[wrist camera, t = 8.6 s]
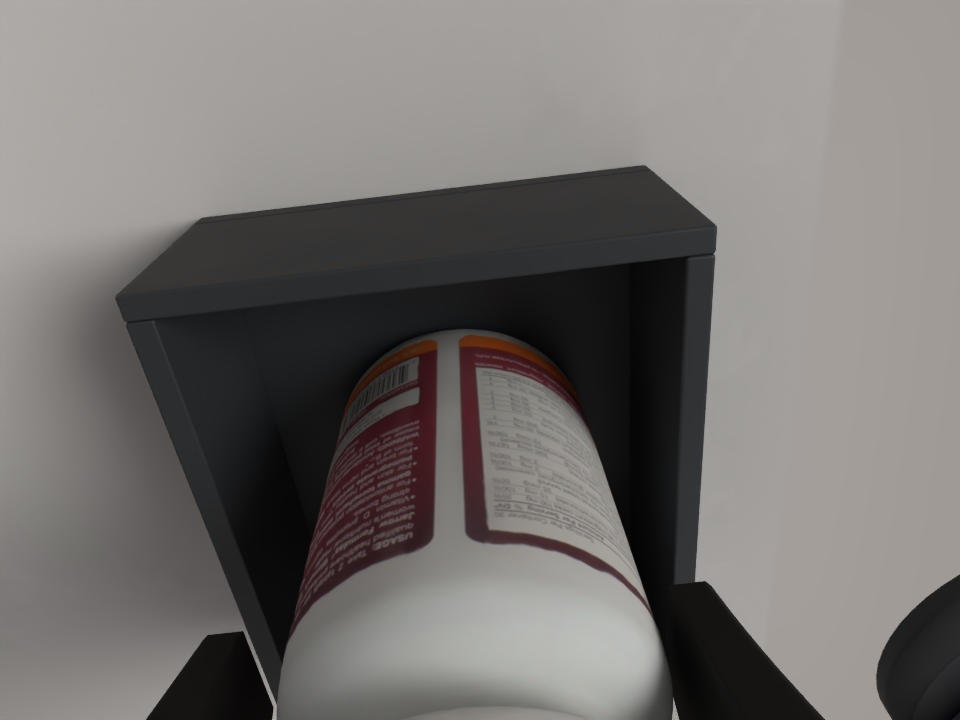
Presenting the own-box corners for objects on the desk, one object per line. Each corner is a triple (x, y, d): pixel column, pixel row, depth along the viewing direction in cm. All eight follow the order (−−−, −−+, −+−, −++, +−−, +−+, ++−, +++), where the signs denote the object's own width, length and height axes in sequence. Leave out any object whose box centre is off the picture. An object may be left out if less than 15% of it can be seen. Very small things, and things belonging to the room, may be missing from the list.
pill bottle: (360, 525, 19) (265, 1117, 9) (326, 326, 16) (127, 877, 6) (580, 510, 19) (728, 1079, 9) (586, 310, 16) (816, 827, 6)
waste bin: (641, 560, 21) (688, 693, 17) (318, 596, 21) (289, 737, 17) (646, 164, 15) (718, 225, 11) (200, 217, 15) (112, 296, 11)
